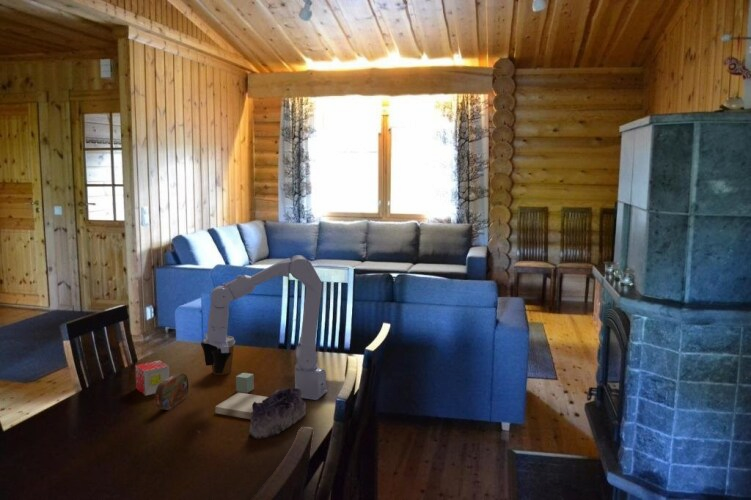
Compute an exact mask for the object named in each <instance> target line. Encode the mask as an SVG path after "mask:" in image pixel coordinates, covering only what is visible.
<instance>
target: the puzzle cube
mask: <svg viewBox="0 0 751 500" xmlns="http://www.w3.org/2000/svg"><path fill="white" fill-rule="evenodd" d="M170 376H171V375H170V365H168V364H166V363H164V362H163V361H162V360H155V361H150V362H145V363H139V364H135V386H136V387H135V389H136V388H137V391H139V392H140V393H141V392H142V393H141V394H142V395H144V396H149V395H153V394H154V395H155V392H156V389H157V387H158V385H159V384H160V383H161V382H163V381H164V380H166V379H167V378H169V377H170Z"/></svg>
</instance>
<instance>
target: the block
mask: <svg viewBox="0 0 751 500" xmlns="http://www.w3.org/2000/svg"><path fill="white" fill-rule="evenodd" d="M254 375H255V374H253V373H248V372H242V373H239V374H238V375H236V376H235V386H236V390H235V391H236V393H238V392H239V393H245V394H249V393H250V392H251V391H253V390H254V389H255V385H254V383H255V382H254V381H255V379H254V378H255V377H254Z"/></svg>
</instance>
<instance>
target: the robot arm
mask: <svg viewBox="0 0 751 500" xmlns="http://www.w3.org/2000/svg"><path fill="white" fill-rule="evenodd" d="M290 275H291V276H292V277H293V278H294V279H296V280H297V281H299V282H301V283H302V284H303V286H305V288H306V290H305V298H304V299H305V300H304V307H303V315H302V324H301V325H302V326H301V333H300V336H299V341H298V345H297V346H296V348H295V350H294V355H295V357H296V364H295V365H294V388H297V389H300V391H301V399H307V400H313V401H318V400H319V399H320V398H321V397H322V396H324V395H325V394H326V393H327V392H328V390H327V373H326V372H327V371H326V370H325V369H324V368H320V367H319V366H318V361H319V360H318V359H319V358H318V356H317V355H318V354H317V353H316V352H317V351H316V350H317V339H316V338H317V331H318V325H319V324H318V323H319V314H320V306H321V299H322V298H321V297H322V288H323V281H322V280H321V278H320V276H319V275H318V273H317V271H316V269H315V268H314V266H313V264H312V263H311V261H310V260H308V259H307V258H306V257H305V256H304V255H300V254H297V255H293V256H291V257H288V258H284V259H282V260H281V261H278V262H276V263H274V264H272V265H270V266H269V267H266V268H264V269H263V270H261V271H259V272H257V273H255V274H253V275H248V274H243V275H242V274H239V275H237V276H236V278H235V279H232V280H231V281H228V282H223V283H222V285H217V286H215V287H214V288H213V290H212V291H211V295H210V307H209V308H210V310H209V314H208V321H207V322H208V325H207V333H204V339H203V340H202V341H201V342H200V345H201V348H202V350H203V356H204V362H205V366H207V367H208V366H212V365H213V363H214V370H215V373H216V374H218V373H222V372H223V369H224V367H225V364H226V361H227V360H228V358H229V356H230V355H231V351H230V350H229V346H228V345H227V340H226V338H227V336H228V325H229V318H230V317H229V314H230V312H229V305H230V303H231V302H232V301H237V300H239V299H240V298H242V297H245V296H246V295H248V294H251V293H253V292H254V290H255V287H256V286H258V285H260V284H263V283H265V282H267V281H270V280H272V279H274V278H277V277H279V276H280V277H286V278H290ZM217 349H218V350H217ZM216 374H215V375H216Z"/></svg>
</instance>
